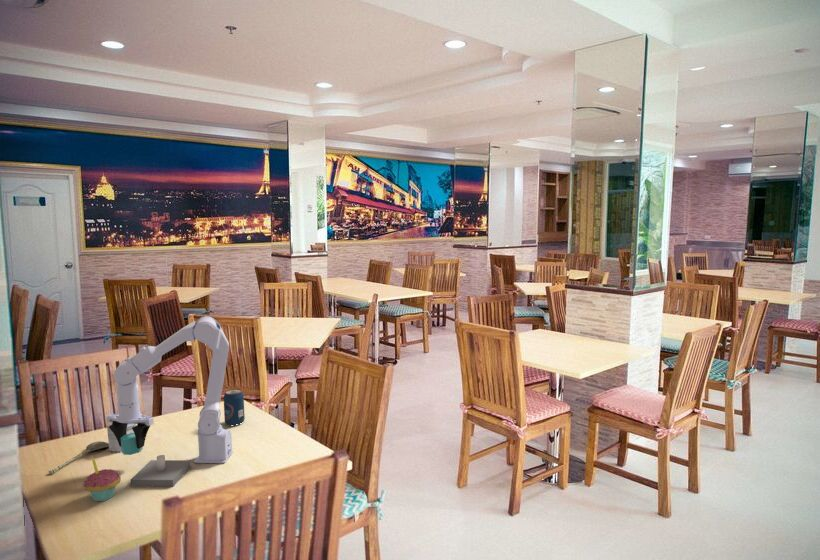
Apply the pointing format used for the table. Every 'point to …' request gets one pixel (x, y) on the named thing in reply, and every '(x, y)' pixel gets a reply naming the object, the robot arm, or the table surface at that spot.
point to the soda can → (234, 407)
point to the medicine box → (113, 441)
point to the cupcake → (102, 483)
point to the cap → (129, 444)
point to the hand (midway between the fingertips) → (131, 446)
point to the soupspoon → (89, 448)
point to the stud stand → (161, 473)
